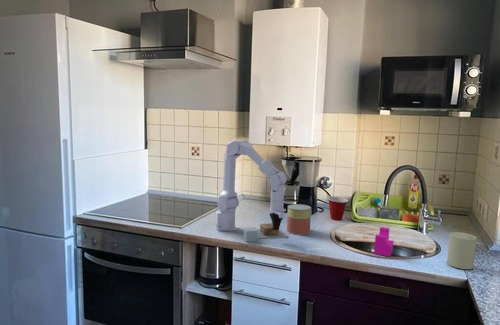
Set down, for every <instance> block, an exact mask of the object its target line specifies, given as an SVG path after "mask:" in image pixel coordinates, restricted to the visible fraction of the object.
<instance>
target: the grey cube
mask: <svg viewBox="0 0 500 325" xmlns="http://www.w3.org/2000/svg"><path fill="white" fill-rule="evenodd" d="M257 229H258V228H256V227H244V228H243V239H244V241H245V243H253V242H254V243H256V242H258V231H257Z"/></svg>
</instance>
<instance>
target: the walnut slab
mask: <svg viewBox="0 0 500 325" xmlns="http://www.w3.org/2000/svg"><path fill="white" fill-rule="evenodd" d="M259 226H260V228H259V229H260V231H261V233H262V234H263V235H264V236H265V235H279V230H274V229H273V224H272V222H270V223H260V225H259Z"/></svg>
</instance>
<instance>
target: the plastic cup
mask: <svg viewBox="0 0 500 325" xmlns="http://www.w3.org/2000/svg"><path fill="white" fill-rule="evenodd" d="M327 199H328V206H329V216H330V219H331V220H332V221H337V222H338V221H339V222H340V221H342V220H343V216H344V214H345V210H346V206H347V203H349V200H348V199H347V198H345V197H339V196H328V197H327Z"/></svg>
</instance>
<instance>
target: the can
mask: <svg viewBox="0 0 500 325" xmlns="http://www.w3.org/2000/svg"><path fill="white" fill-rule="evenodd" d="M477 239H478V237H477V236H475V235H473V234H470V233H466V232H459V231H453V232H450V233H449V240H448V252H447V259H446V264H448V265H449V266H451V267H454V268H458V269H462V270H472V269H474V267H475V265H474V263H475V255H476V246H477Z"/></svg>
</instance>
